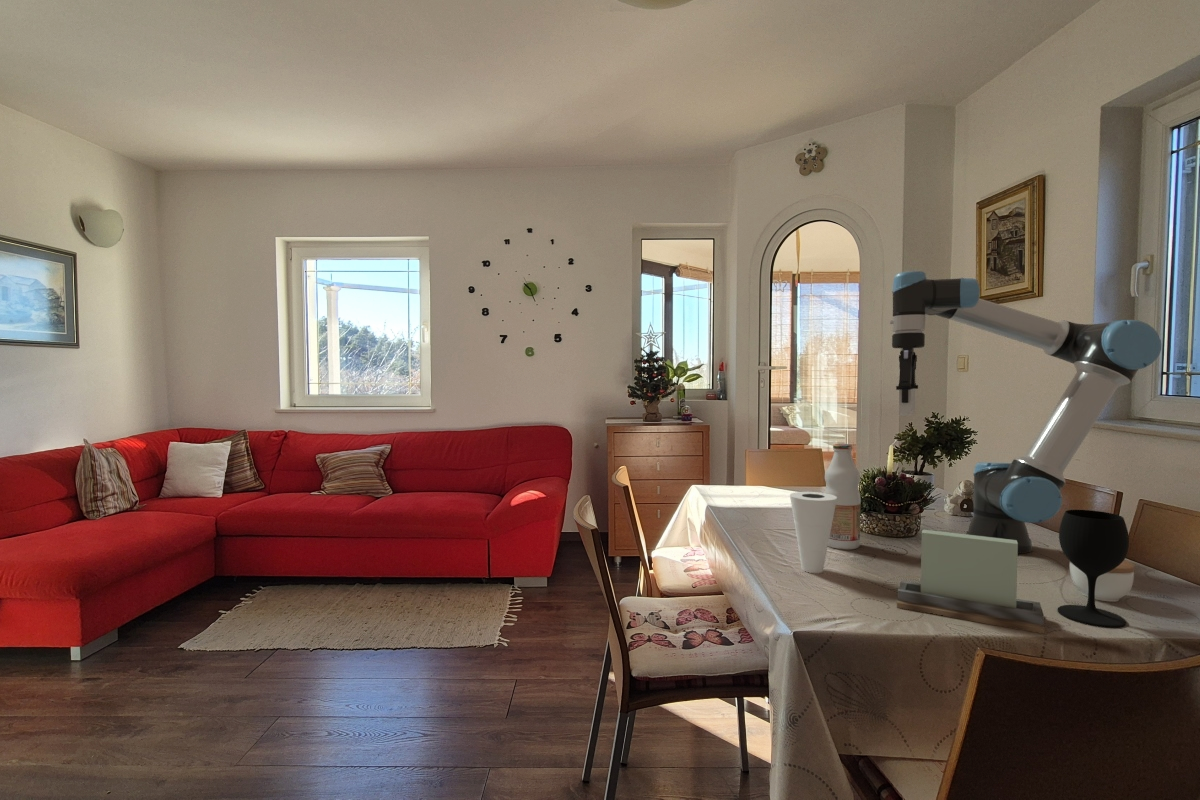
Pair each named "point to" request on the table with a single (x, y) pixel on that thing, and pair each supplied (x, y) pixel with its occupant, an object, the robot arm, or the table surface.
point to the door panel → (969, 567)
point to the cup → (813, 527)
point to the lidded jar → (1106, 582)
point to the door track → (972, 609)
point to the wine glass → (1093, 558)
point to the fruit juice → (844, 498)
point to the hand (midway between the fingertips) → (907, 414)
